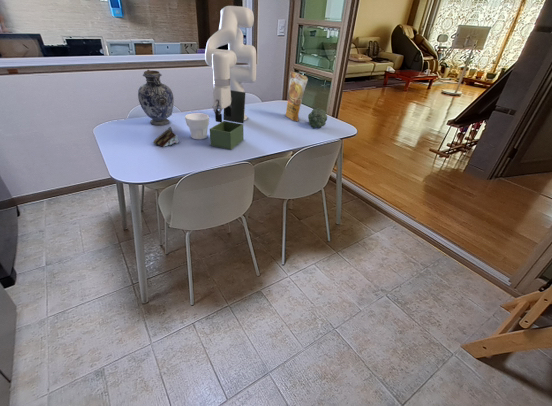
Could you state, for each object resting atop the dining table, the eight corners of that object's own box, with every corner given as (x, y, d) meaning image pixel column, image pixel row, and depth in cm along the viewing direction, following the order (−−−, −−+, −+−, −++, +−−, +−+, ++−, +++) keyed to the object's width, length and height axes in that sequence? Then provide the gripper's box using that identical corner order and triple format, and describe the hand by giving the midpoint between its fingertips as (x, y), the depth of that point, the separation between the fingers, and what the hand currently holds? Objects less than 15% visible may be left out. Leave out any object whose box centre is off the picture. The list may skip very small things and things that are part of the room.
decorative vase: (181, 125, 168) (175, 74, 153) (148, 130, 159) (138, 76, 144) (170, 115, 183) (163, 67, 167) (139, 119, 173) (128, 68, 158)
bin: (231, 149, 144) (230, 133, 139) (210, 145, 147) (209, 128, 142) (243, 140, 156) (243, 124, 151) (224, 136, 159) (223, 120, 154)
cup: (185, 133, 159) (183, 113, 152) (208, 131, 163) (206, 112, 157) (189, 141, 149) (186, 120, 143) (213, 139, 154) (211, 119, 148)
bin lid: (244, 92, 144) (245, 92, 144) (224, 89, 147) (225, 89, 147) (243, 123, 150) (243, 123, 151) (223, 120, 153) (224, 119, 154)
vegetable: (322, 118, 190) (334, 114, 176) (312, 134, 188) (323, 131, 174) (309, 106, 185) (320, 102, 171) (298, 123, 184) (308, 119, 170)
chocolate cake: (161, 150, 139) (176, 130, 140) (151, 142, 141) (166, 123, 141) (172, 156, 149) (186, 138, 149) (162, 149, 150) (176, 131, 151)
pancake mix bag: (290, 113, 202) (294, 70, 187) (304, 121, 188) (309, 76, 173) (282, 114, 200) (285, 70, 184) (295, 122, 186) (299, 76, 170)
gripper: (223, 78, 140) (225, 113, 150) (204, 85, 126) (207, 122, 136) (237, 80, 138) (238, 115, 148) (219, 87, 124) (221, 125, 134)
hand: (223, 118), depth 142 cm, fingers open, 9 cm apart
